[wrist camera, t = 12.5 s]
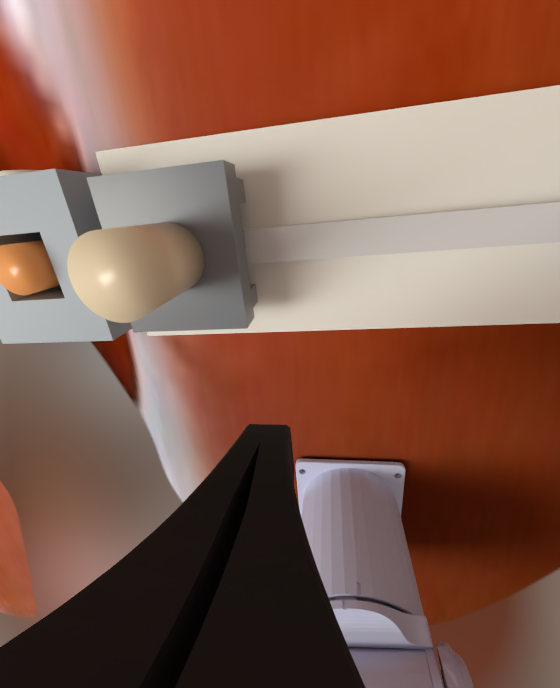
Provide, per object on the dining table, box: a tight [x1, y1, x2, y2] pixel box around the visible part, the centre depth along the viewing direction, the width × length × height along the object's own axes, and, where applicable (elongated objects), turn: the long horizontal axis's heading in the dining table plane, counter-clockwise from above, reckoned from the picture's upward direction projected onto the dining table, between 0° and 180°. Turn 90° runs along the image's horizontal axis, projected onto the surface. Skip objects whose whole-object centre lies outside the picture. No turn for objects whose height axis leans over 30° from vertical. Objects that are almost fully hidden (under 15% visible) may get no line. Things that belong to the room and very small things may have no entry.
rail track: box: [95, 85, 560, 336], centre depth 15 cm, size 10×24×4 cm, turn 95°
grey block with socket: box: [0, 169, 132, 344], centre depth 17 cm, size 8×7×4 cm
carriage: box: [67, 160, 258, 332], centre depth 13 cm, size 7×6×7 cm
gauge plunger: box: [0, 240, 60, 295], centre depth 16 cm, size 2×2×4 cm
